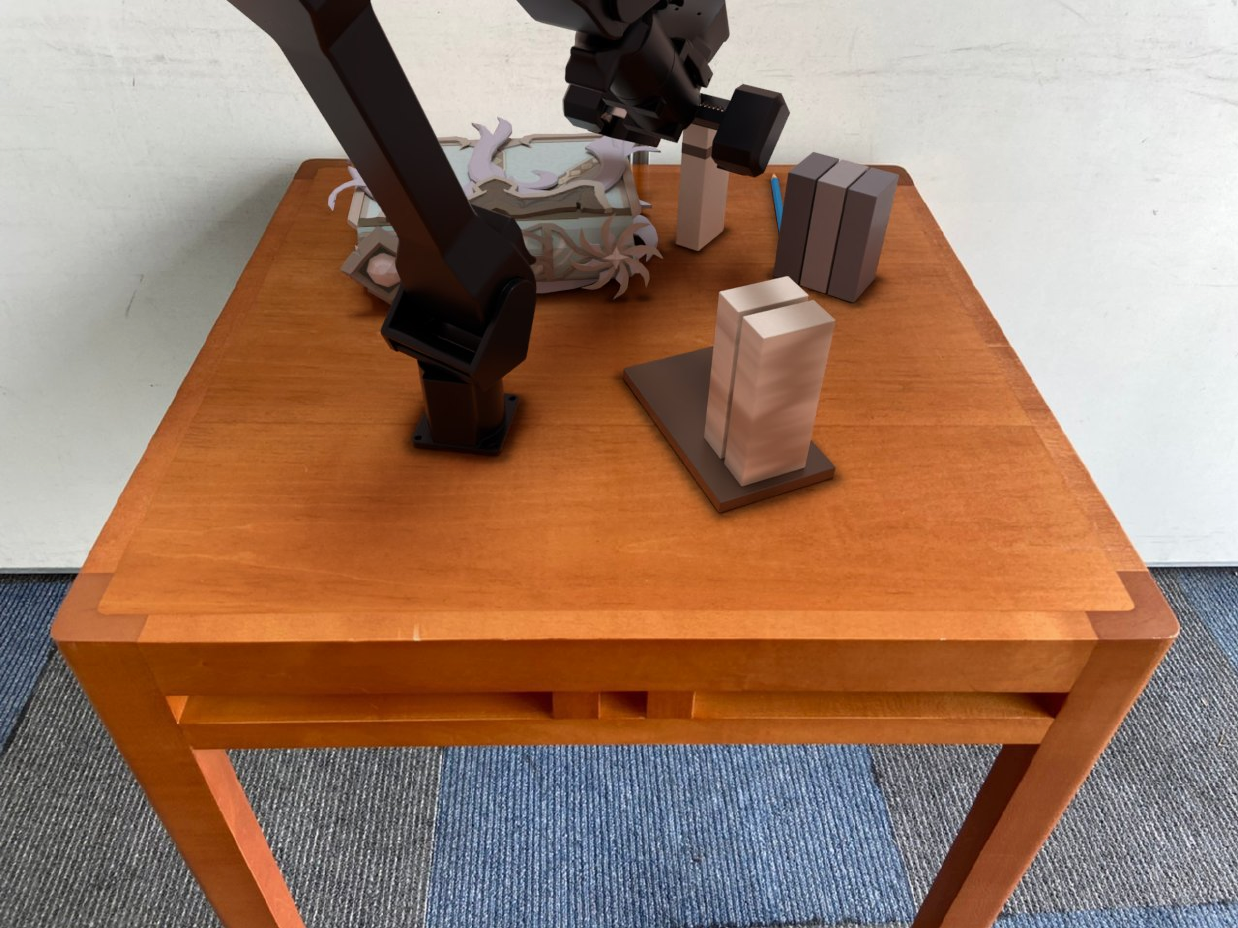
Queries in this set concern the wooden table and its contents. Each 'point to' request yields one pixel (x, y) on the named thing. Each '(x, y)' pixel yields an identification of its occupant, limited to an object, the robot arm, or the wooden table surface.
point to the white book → (700, 190)
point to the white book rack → (746, 395)
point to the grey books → (834, 225)
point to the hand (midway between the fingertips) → (701, 154)
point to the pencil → (777, 199)
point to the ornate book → (529, 208)
